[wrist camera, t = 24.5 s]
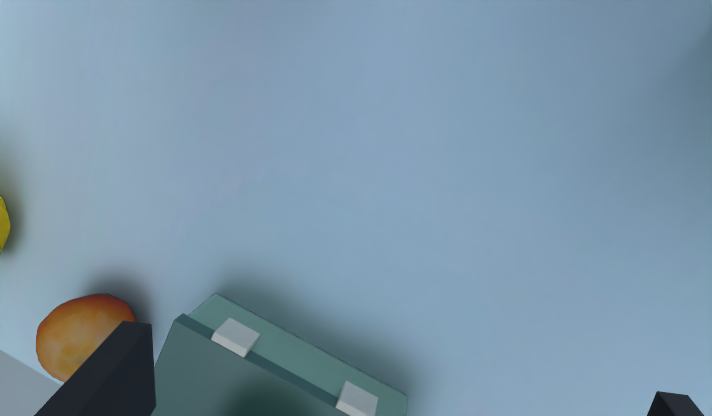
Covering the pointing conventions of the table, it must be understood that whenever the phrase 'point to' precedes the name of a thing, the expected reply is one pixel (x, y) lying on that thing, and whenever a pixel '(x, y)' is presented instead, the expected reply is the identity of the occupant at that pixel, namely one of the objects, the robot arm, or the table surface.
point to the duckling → (3, 224)
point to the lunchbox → (258, 371)
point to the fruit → (77, 332)
